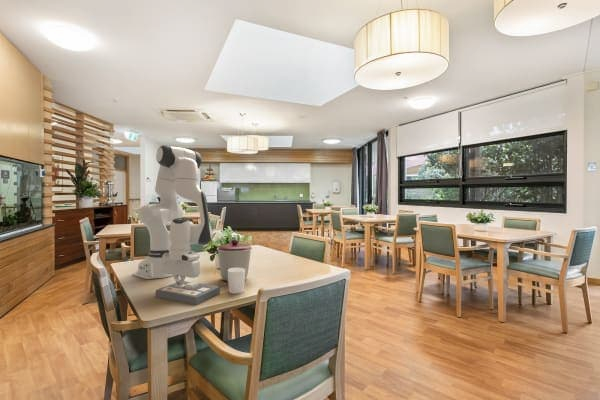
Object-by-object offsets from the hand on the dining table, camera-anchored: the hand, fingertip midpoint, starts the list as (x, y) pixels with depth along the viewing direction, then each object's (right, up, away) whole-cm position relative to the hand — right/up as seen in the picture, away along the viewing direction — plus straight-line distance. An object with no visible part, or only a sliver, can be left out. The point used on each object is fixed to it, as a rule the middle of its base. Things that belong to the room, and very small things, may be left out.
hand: (179, 284), depth 133 cm
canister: (+20, -3, +21) cm, 29 cm away
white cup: (+25, -4, +2) cm, 26 cm away
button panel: (+6, -3, -4) cm, 8 cm away
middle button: (+6, -1, -2) cm, 7 cm away
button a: (0, -3, 0) cm, 3 cm away
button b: (+12, -3, -5) cm, 14 cm away
